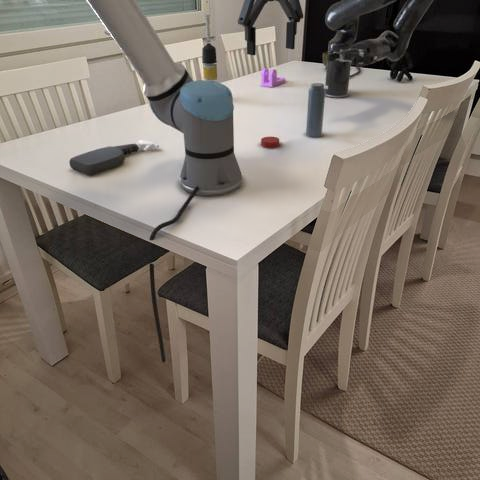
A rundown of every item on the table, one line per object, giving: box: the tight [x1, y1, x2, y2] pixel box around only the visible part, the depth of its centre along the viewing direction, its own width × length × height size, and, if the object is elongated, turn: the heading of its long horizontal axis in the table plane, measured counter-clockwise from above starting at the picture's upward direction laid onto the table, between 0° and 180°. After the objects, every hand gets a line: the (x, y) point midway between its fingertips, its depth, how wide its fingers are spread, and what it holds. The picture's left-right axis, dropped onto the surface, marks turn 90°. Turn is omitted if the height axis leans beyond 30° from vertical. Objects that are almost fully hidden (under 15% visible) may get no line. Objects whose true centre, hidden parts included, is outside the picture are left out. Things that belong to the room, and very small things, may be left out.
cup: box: [322, 51, 328, 71], centre depth 219 cm, size 8×7×8 cm
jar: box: [305, 82, 326, 138], centre depth 136 cm, size 5×5×15 cm
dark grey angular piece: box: [385, 51, 414, 83], centre depth 198 cm, size 11×10×15 cm
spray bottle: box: [68, 139, 160, 177], centre depth 124 cm, size 3×11×24 cm
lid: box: [260, 136, 280, 149], centre depth 132 cm, size 5×5×2 cm
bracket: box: [260, 67, 286, 88], centre depth 197 cm, size 13×6×7 cm, turn 143°
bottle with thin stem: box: [201, 14, 218, 82], centre depth 171 cm, size 6×6×30 cm
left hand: (271, 51), depth 119 cm, fingers open, 13 cm apart
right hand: (340, 59), depth 135 cm, fingers open, 8 cm apart
